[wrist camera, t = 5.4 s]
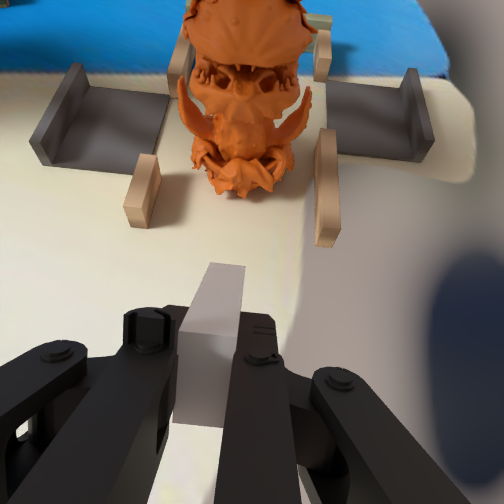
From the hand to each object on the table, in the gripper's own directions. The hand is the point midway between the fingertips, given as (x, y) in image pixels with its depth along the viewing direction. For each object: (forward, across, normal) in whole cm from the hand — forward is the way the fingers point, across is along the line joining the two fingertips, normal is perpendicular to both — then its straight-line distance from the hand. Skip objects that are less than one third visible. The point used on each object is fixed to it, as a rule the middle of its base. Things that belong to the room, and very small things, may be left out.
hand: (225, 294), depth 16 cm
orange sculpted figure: (+23, -1, +4) cm, 24 cm away
